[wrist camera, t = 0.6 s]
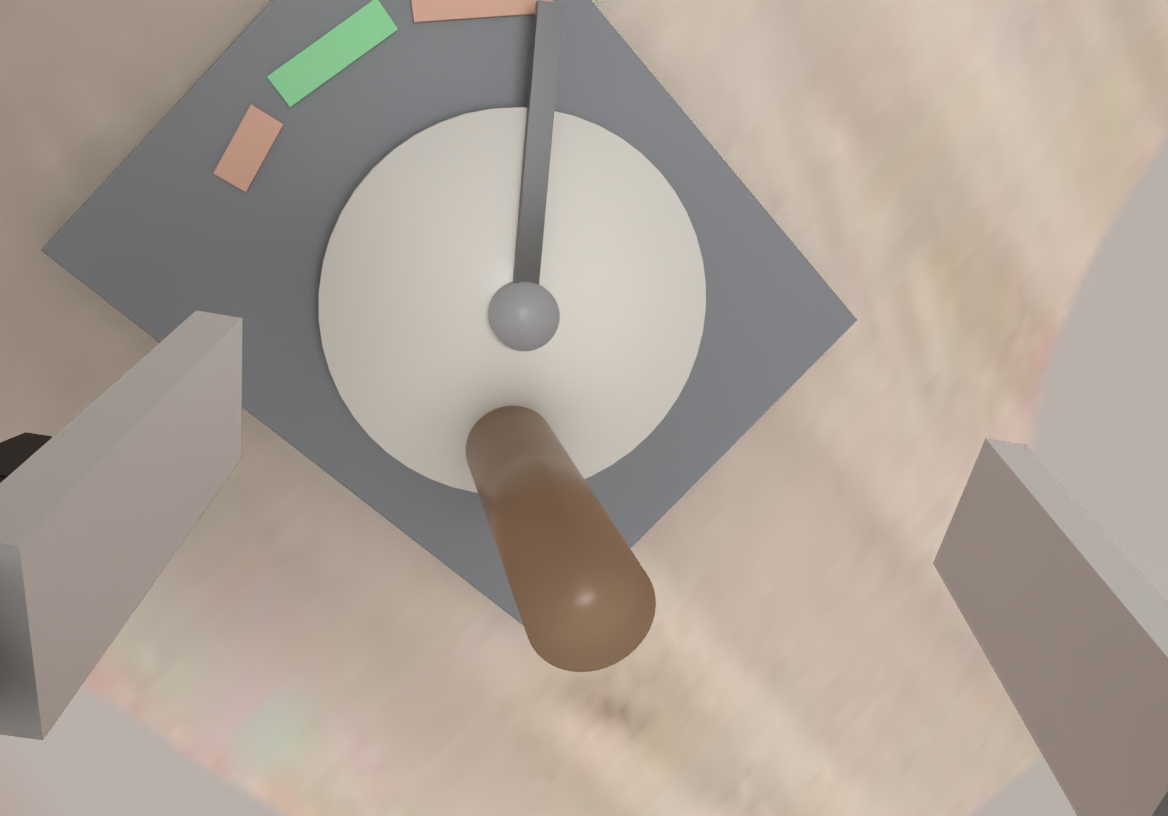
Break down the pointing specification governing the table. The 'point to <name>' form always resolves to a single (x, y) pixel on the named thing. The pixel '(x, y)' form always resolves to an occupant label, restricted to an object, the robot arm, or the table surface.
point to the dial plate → (340, 162)
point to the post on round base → (521, 338)
